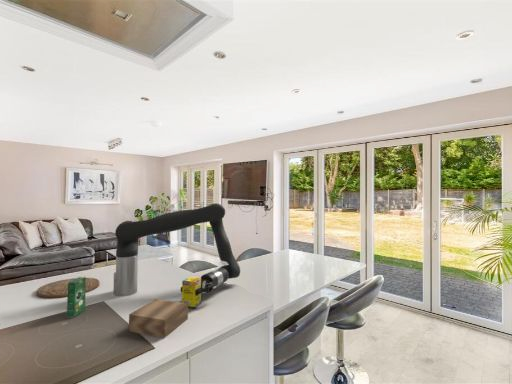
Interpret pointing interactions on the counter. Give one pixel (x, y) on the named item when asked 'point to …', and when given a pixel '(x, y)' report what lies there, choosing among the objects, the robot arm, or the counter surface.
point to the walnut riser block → (158, 318)
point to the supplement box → (191, 291)
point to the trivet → (63, 288)
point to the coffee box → (76, 297)
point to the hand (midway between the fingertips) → (188, 291)
